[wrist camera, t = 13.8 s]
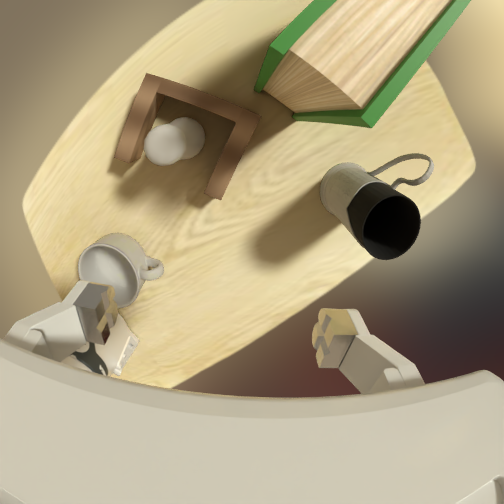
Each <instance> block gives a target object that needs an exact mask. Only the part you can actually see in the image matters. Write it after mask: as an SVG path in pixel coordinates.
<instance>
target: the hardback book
mask: <svg viewBox="0 0 504 504" xmlns="http://www.w3.org/2000/svg"><path fill="white" fill-rule="evenodd" d="M470 1H471V0H314V1H313V2H311V3H310V4H309V5H308V6H307V7H306V8H305V9H304V10H303V11H302V12H301V13H300V14H299V15H298V16H297V17H296V18H295V19H294V20H293V21H292V22H291V23H290V24H289V25H288V26H287V27H286V28H285V29H284V30H283V31H282V33H281V34H280V35H279V36H278V37H277V38H276V39H275V40H274V41H273V42H272V43H271V44H270V46H269V48H268V51H267V54H266V57H265V59H264V62H263V65H262V68H261V70H260V73H259V76H258V79H257V82H256V85H255V87H254V90H255V91H256V92H258V93H260V92H261V91H262V89H263V90H264V91H266V92H267V93H269V94H270V95H272V96H273V97H274V98H276V99H277V100H278V101H280V102H281V103H283V104H284V105H285V106H287V107H288V108H289V109H291V110H292V111H293V112H295V113H294V115H293V116H292V117H293V118H294V119H295V120H297V121H308V122H322V123H333V124H343V125H352V126H360V127H367V128H372V127H373V126H374V125H375V124H376V122H377V121H378V120H379V119H380V117H381V116H382V115H383V114H384V112H385V111H386V110H387V109H388V107H389V106H390V105H391V104H392V102H393V101H394V100H395V99H396V97H397V96H398V95H399V93H400V92H401V91H402V90H403V88H404V87H405V86H406V85H407V83H408V82H409V81H410V79H411V78H412V77H413V76H414V74H415V73H416V72H417V71H418V69H419V68H420V67H421V65H422V64H423V63H424V62H425V60H426V59H427V58H428V56H429V55H430V54H431V52H432V51H433V50H434V49H435V47H436V46H437V45H438V43H439V42H440V41H441V39H442V38H443V37H444V36H445V34H446V33H447V32H448V30H449V29H450V27H451V26H452V25H453V24H454V22H455V21H456V20H457V18H458V17H459V16H460V14H461V13H462V12H463V10H464V9H465V8H466V6H467V5H468V4H469V2H470Z"/></svg>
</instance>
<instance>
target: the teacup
mask: <svg viewBox="0 0 504 504" xmlns="http://www.w3.org/2000/svg"><path fill="white" fill-rule="evenodd" d="M148 266H149V267H153V268H155V269H152V270H148ZM78 272H79V278H80V280H84V281H89V282H95V283H100V284H105V285H111V286H113V287H114V290H115V296H114V298H113V300H114V301H115V302H116V303H117V307H118V308H123V307H127V306H129V305H131V304H132V303H133V302H134V301H135V299H136V298H137V296H138V293H139V291H140V289H141V288H142V286H143V284H144V282H145V280H147V281H151V280H155V279H158V278H159V277H161V276H162V275H163V273H164V267H163V264H162V262H161V261H159V260H157V259H154V258H151V257H150V256H146V254H145V252H144V250H143V248H142V247H141V245H140V244H139V243H138V242H137V241H136V240H135V239H133V238H132V237H130V236H128V235H125V234H122V233H111V234H108V235H105V236H103V237H102V238H100V239H99V240H97V241H96V242H95V243H93V244H92V245H91V246H89V247H87V248H86V249H85V250H84V251H83V252H82V254H81V256H80V258H79V263H78Z"/></svg>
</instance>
